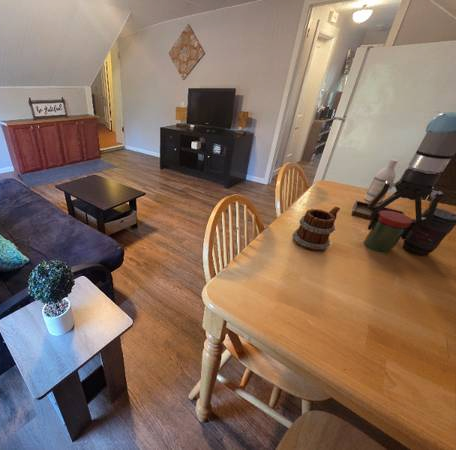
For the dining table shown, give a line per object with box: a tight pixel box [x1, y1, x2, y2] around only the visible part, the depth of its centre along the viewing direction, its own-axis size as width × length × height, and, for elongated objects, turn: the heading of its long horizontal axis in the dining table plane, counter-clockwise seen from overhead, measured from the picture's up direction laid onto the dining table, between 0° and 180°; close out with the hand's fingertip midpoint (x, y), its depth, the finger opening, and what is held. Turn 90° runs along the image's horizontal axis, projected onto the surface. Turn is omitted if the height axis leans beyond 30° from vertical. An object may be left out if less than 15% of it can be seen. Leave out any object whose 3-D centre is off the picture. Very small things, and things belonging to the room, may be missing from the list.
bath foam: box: [364, 158, 399, 204], centre depth 114 cm, size 7×7×20 cm
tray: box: [351, 200, 405, 220], centre depth 106 cm, size 17×13×2 cm
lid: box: [377, 210, 413, 228], centre depth 82 cm, size 9×9×2 cm
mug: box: [292, 206, 341, 252], centre depth 86 cm, size 12×14×15 cm
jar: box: [363, 219, 407, 254], centre depth 85 cm, size 8×8×12 cm
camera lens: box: [402, 207, 456, 257], centre depth 82 cm, size 8×8×15 cm
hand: (385, 232), depth 85 cm, fingers closed on lid, 8 cm apart
